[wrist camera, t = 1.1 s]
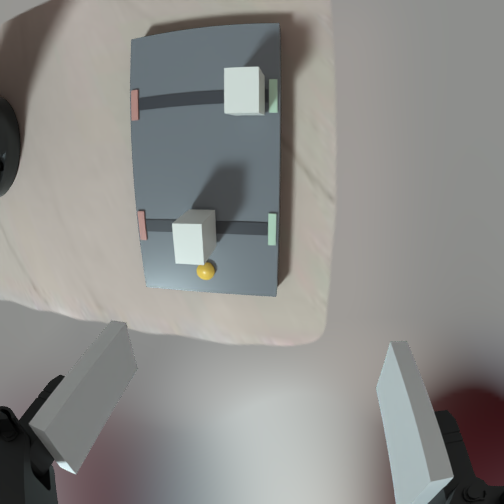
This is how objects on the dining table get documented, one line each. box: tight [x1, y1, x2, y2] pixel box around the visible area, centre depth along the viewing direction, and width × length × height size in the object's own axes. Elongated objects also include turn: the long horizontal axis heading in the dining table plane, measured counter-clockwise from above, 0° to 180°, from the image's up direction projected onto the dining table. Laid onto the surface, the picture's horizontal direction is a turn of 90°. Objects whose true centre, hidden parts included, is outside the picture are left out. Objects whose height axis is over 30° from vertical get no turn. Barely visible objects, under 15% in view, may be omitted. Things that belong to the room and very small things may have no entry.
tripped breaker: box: [172, 209, 217, 265], centre depth 28 cm, size 4×2×4 cm
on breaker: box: [224, 67, 265, 116], centre depth 23 cm, size 4×2×4 cm
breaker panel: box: [130, 23, 281, 297], centre depth 29 cm, size 26×14×2 cm, turn 0°
